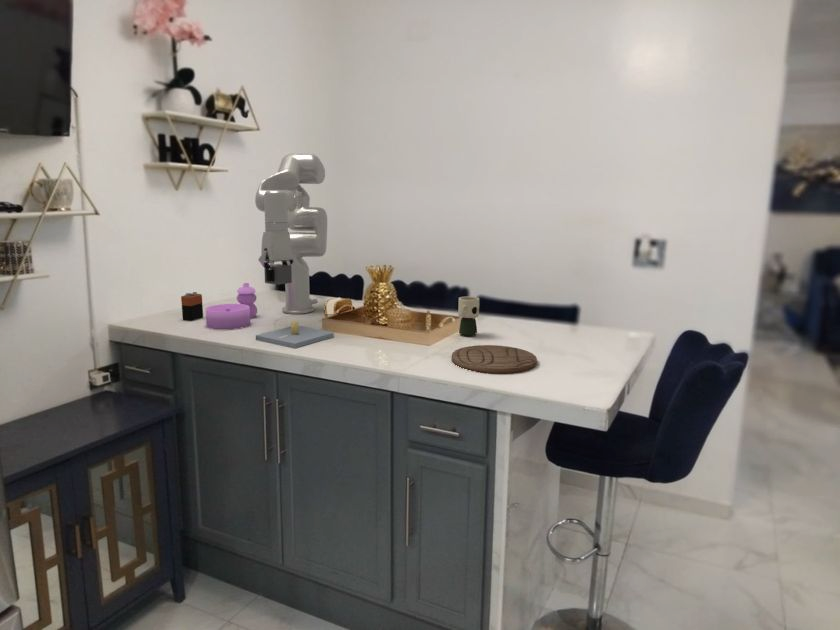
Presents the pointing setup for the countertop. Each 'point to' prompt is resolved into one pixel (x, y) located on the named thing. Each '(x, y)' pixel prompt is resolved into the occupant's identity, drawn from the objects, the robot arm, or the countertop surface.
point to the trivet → (494, 359)
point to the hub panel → (294, 336)
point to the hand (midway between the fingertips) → (278, 279)
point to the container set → (233, 311)
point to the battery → (192, 306)
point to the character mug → (468, 315)
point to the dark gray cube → (281, 274)
